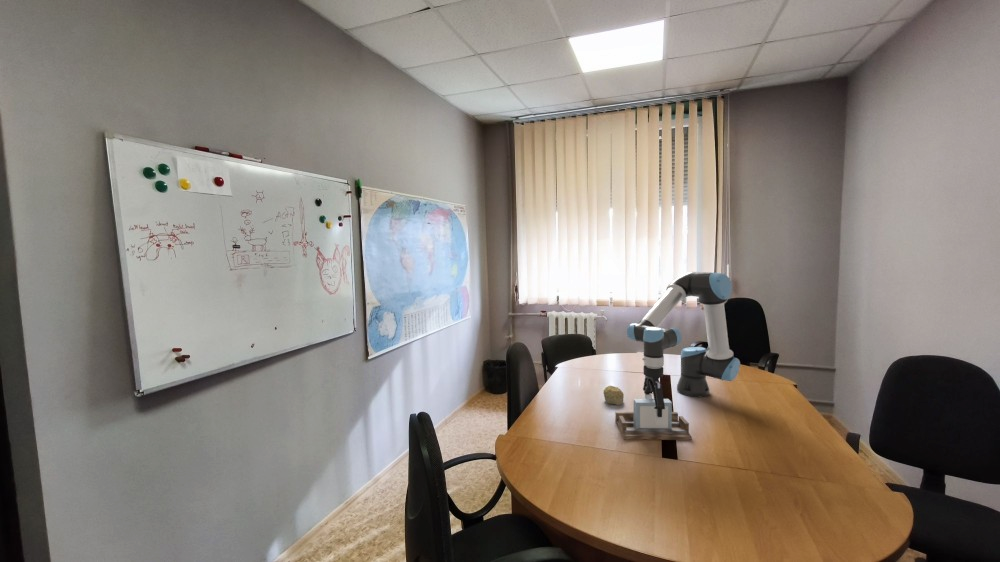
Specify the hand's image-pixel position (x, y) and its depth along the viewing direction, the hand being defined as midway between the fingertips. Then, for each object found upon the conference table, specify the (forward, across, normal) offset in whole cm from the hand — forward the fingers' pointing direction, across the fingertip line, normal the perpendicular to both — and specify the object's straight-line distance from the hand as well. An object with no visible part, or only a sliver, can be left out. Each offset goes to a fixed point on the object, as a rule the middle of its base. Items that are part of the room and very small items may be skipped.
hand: (653, 416), depth 159 cm
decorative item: (+7, -32, -9) cm, 34 cm away
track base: (+7, -2, 0) cm, 7 cm away
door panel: (+5, 0, 0) cm, 5 cm away
